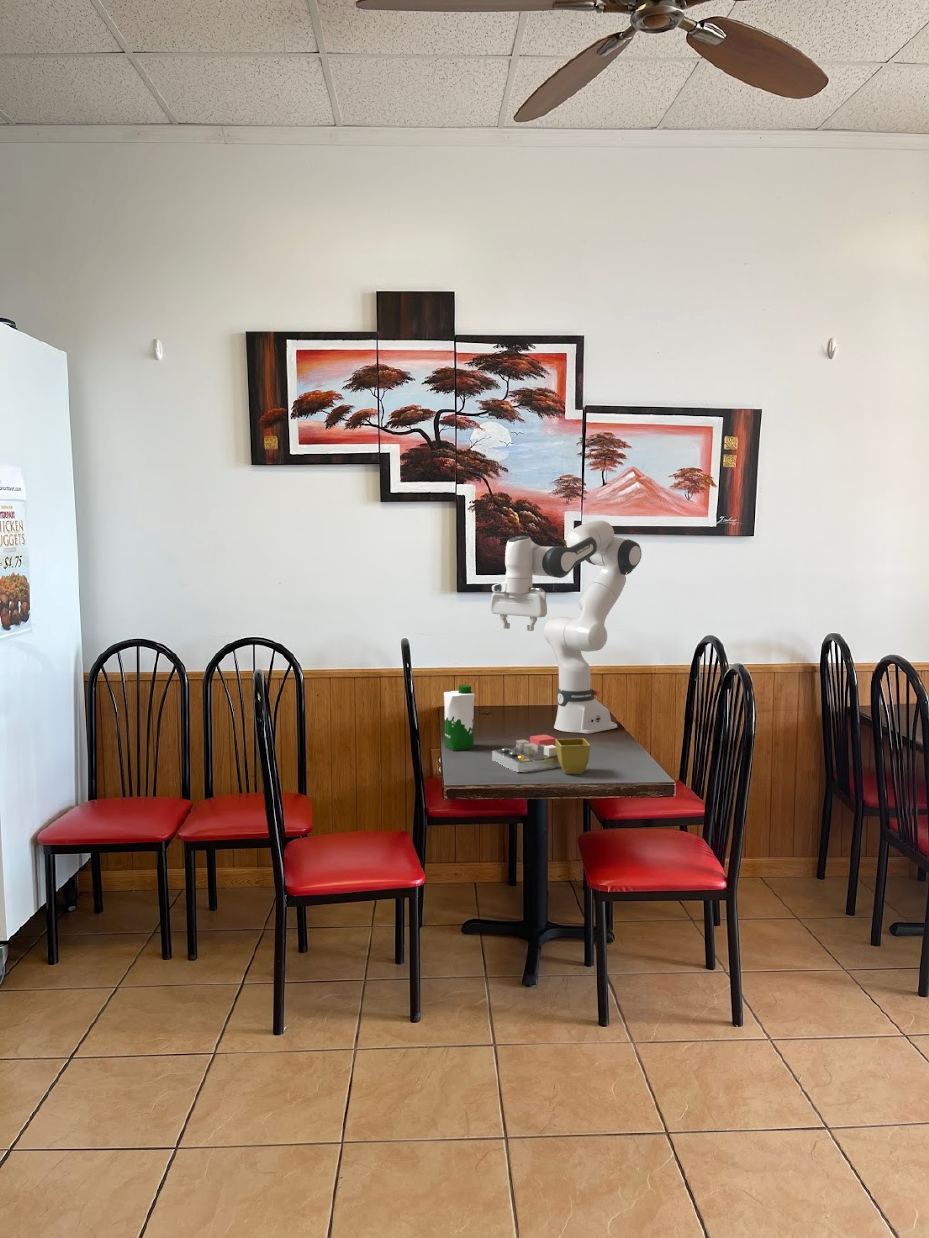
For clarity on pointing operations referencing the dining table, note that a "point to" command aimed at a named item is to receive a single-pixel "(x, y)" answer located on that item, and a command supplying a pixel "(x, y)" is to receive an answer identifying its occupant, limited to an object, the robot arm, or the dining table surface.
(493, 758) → the breaker panel
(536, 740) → the cap
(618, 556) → the robot arm
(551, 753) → the breaker toggle
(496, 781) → the dining table surface
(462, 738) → the milk carton
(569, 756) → the flower pot
